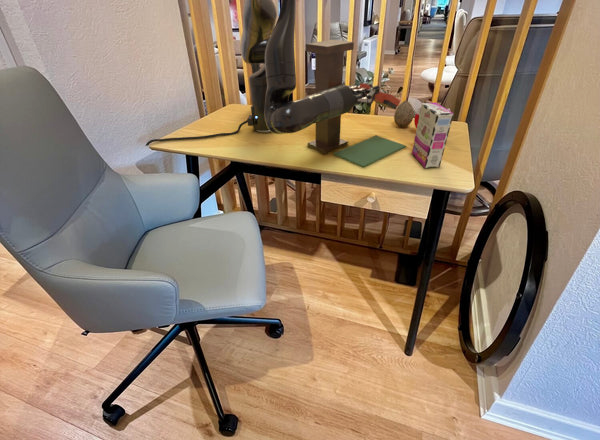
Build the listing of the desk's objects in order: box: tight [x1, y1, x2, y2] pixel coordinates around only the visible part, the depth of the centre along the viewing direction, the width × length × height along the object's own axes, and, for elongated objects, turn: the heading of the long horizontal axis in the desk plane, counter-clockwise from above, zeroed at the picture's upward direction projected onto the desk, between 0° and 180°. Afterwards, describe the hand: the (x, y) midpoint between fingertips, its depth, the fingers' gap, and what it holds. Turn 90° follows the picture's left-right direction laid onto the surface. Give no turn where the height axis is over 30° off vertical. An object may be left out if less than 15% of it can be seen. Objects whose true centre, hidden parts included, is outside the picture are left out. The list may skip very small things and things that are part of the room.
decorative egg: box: [393, 100, 415, 128], centre depth 119 cm, size 7×7×10 cm
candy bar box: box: [411, 102, 455, 169], centre depth 93 cm, size 11×5×16 cm, turn 5°
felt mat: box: [333, 135, 407, 168], centre depth 105 cm, size 22×13×1 cm, turn 130°
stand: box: [305, 39, 355, 156], centre depth 100 cm, size 11×9×32 cm
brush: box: [359, 82, 401, 111], centre depth 94 cm, size 17×6×3 cm, turn 130°
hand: (374, 88), depth 92 cm, fingers closed on brush, 2 cm apart
